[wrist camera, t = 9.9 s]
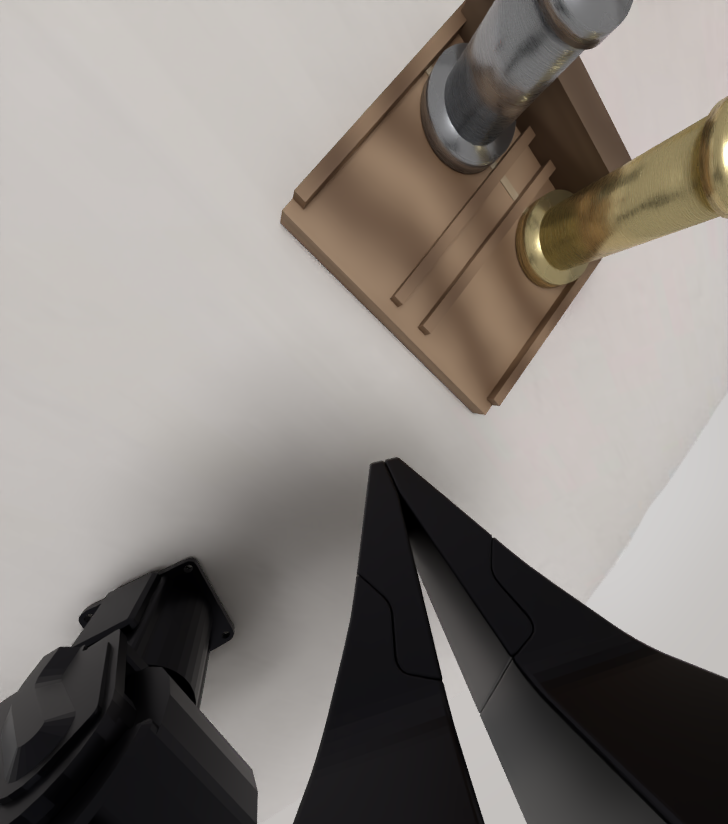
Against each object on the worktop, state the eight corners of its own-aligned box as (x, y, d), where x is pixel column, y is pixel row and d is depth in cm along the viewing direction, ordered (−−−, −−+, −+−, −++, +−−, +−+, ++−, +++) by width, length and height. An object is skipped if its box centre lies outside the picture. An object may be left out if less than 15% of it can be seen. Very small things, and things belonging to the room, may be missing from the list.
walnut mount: (472, 412, 26) (520, 420, 21) (280, 222, 19) (287, 171, 14) (592, 243, 28) (659, 215, 23) (457, 23, 22) (513, -76, 17)
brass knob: (548, 305, 25) (746, 256, 15) (501, 241, 23) (695, 131, 13) (590, 246, 26) (804, 161, 16) (548, 179, 24) (766, 29, 13)
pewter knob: (466, 195, 21) (592, 84, 13) (401, 106, 19) (504, -91, 11) (518, 130, 22) (665, -11, 14) (461, 38, 20) (597, -190, 12)
